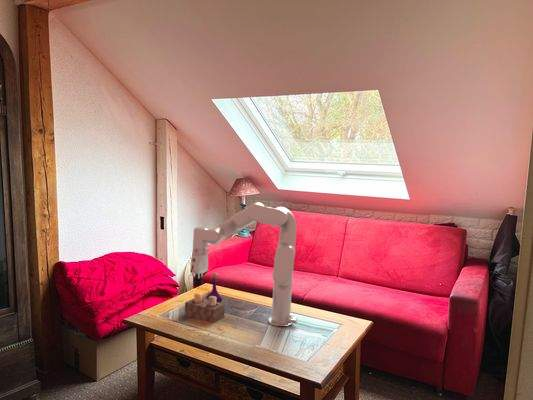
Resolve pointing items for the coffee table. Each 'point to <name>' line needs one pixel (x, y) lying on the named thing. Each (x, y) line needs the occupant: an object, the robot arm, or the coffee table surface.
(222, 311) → the walnut block
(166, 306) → the coffee table surface
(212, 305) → the beech plug
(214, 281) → the perfume bottle
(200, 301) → the terracotta plug
